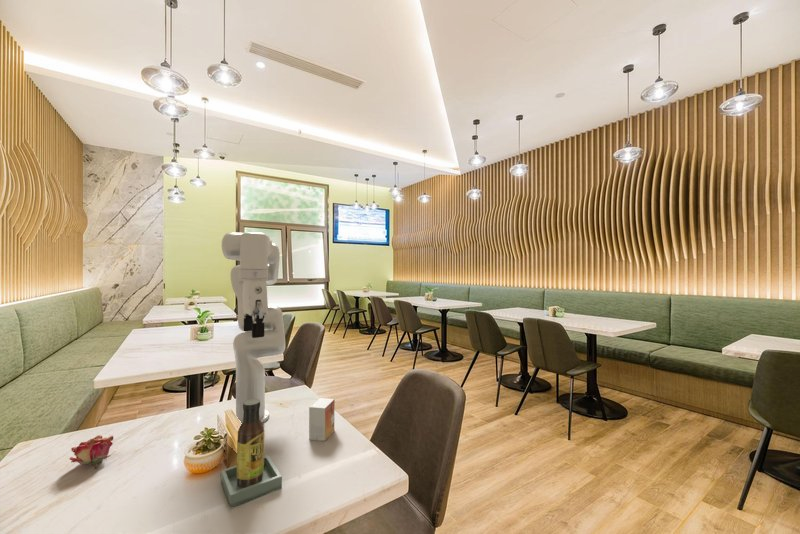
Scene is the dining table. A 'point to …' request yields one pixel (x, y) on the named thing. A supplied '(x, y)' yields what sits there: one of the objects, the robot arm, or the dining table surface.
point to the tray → (244, 494)
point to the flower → (92, 451)
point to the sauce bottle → (250, 446)
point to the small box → (321, 419)
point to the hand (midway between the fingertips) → (253, 333)
